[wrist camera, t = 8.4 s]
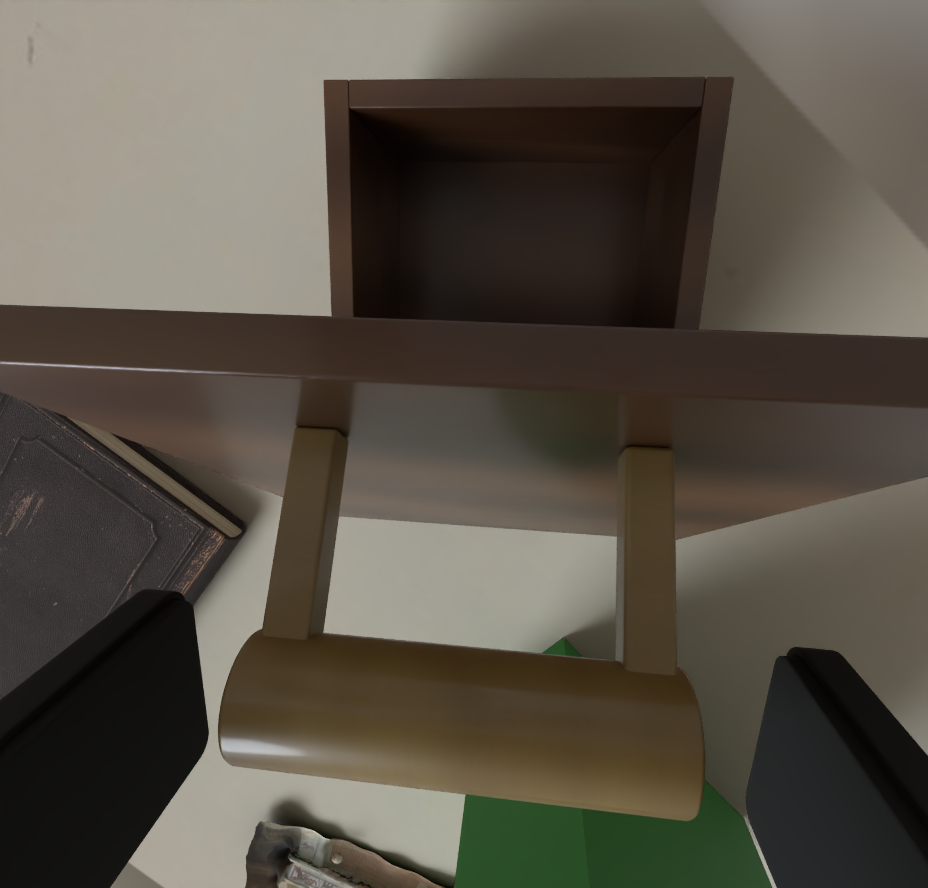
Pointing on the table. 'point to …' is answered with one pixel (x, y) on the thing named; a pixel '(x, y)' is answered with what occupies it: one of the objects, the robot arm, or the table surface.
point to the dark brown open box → (524, 198)
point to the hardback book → (603, 844)
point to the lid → (483, 510)
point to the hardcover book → (90, 532)
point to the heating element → (319, 862)
